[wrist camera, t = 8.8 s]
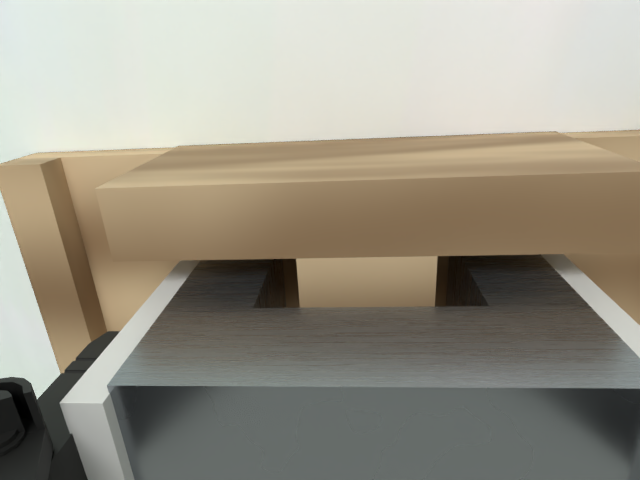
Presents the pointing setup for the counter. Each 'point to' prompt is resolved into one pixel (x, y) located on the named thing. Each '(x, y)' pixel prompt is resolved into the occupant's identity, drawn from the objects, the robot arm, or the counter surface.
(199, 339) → the clip
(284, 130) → the counter surface
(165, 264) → the rail
